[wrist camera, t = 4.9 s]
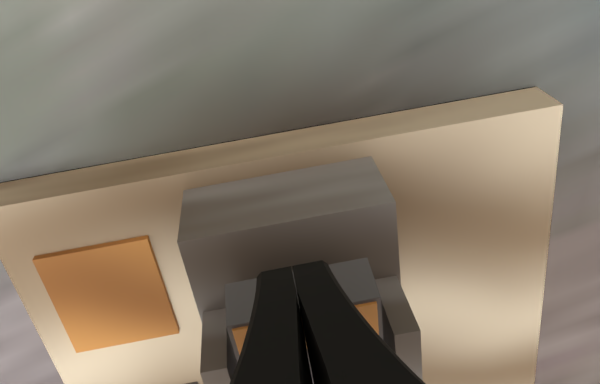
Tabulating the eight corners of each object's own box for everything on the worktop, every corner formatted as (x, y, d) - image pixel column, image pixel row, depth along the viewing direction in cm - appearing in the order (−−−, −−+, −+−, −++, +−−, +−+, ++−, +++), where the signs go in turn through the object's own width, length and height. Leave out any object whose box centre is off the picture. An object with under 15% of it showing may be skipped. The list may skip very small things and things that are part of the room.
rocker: (376, 384, 15) (388, 427, 14) (261, 407, 15) (265, 453, 14) (367, 257, 12) (381, 299, 11) (224, 284, 12) (226, 328, 11)
